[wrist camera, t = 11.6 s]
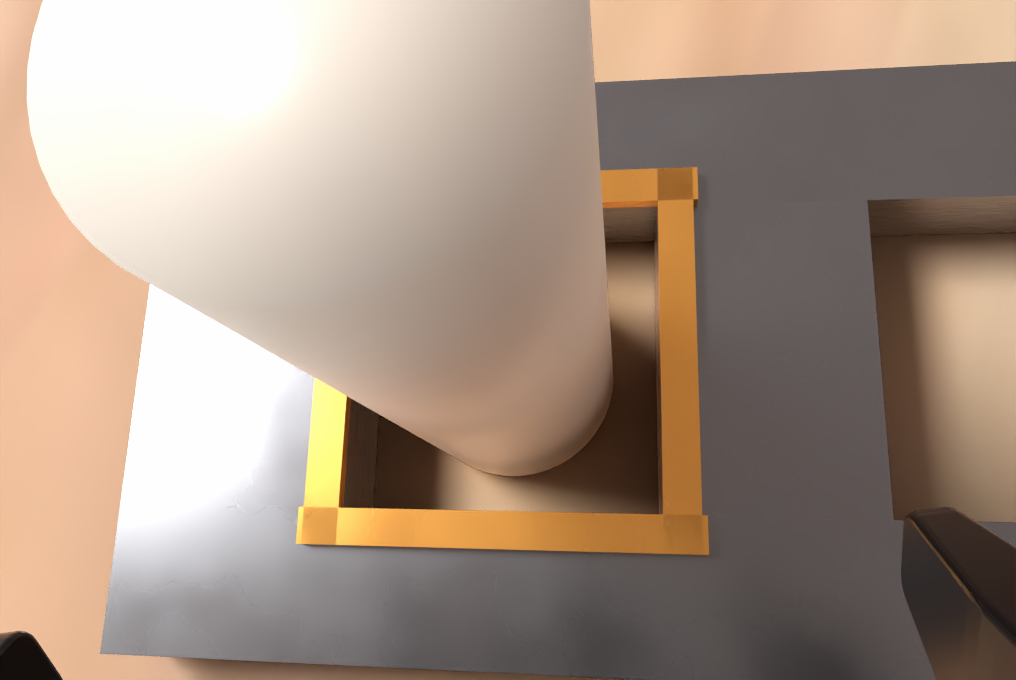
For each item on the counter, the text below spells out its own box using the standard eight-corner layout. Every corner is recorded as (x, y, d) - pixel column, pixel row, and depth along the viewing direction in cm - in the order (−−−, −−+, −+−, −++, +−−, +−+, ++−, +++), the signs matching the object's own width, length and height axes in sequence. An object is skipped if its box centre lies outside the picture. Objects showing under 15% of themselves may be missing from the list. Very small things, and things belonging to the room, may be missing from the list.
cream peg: (616, 284, 19) (600, -228, 7) (609, 481, 18) (576, 317, 6) (426, 281, 20) (83, -190, 7) (409, 470, 19) (-28, 303, 6)
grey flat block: (1375, 94, 18) (1481, 29, 16) (1527, 706, 15) (1685, 732, 13) (215, 144, 21) (167, 96, 19) (155, 643, 18) (90, 655, 16)
